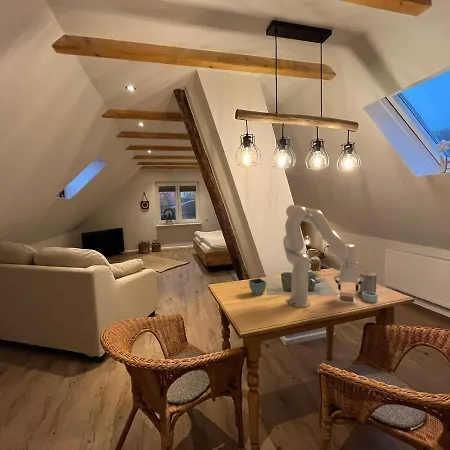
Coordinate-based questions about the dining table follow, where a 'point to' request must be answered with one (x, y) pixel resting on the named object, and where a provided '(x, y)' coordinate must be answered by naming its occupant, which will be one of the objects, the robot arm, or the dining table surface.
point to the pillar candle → (368, 281)
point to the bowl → (369, 296)
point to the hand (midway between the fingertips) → (348, 290)
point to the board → (346, 296)
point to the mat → (346, 301)
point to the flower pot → (257, 286)
